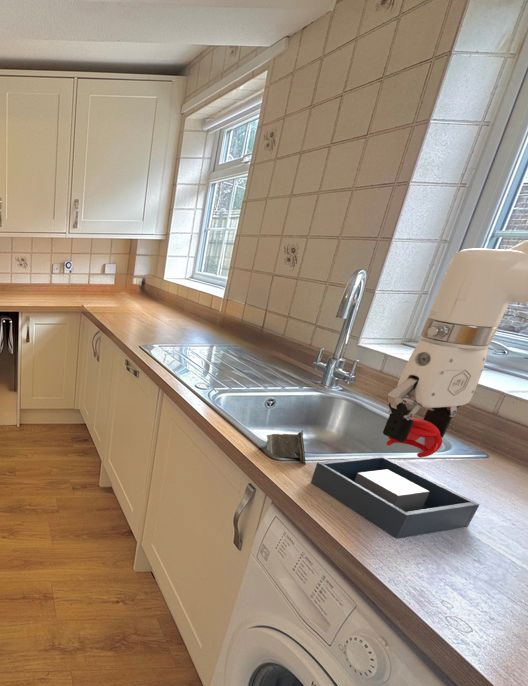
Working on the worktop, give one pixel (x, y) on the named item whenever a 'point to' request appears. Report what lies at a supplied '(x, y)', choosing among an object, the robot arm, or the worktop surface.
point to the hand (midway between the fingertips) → (412, 435)
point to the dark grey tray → (435, 515)
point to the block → (393, 489)
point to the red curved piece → (422, 430)
